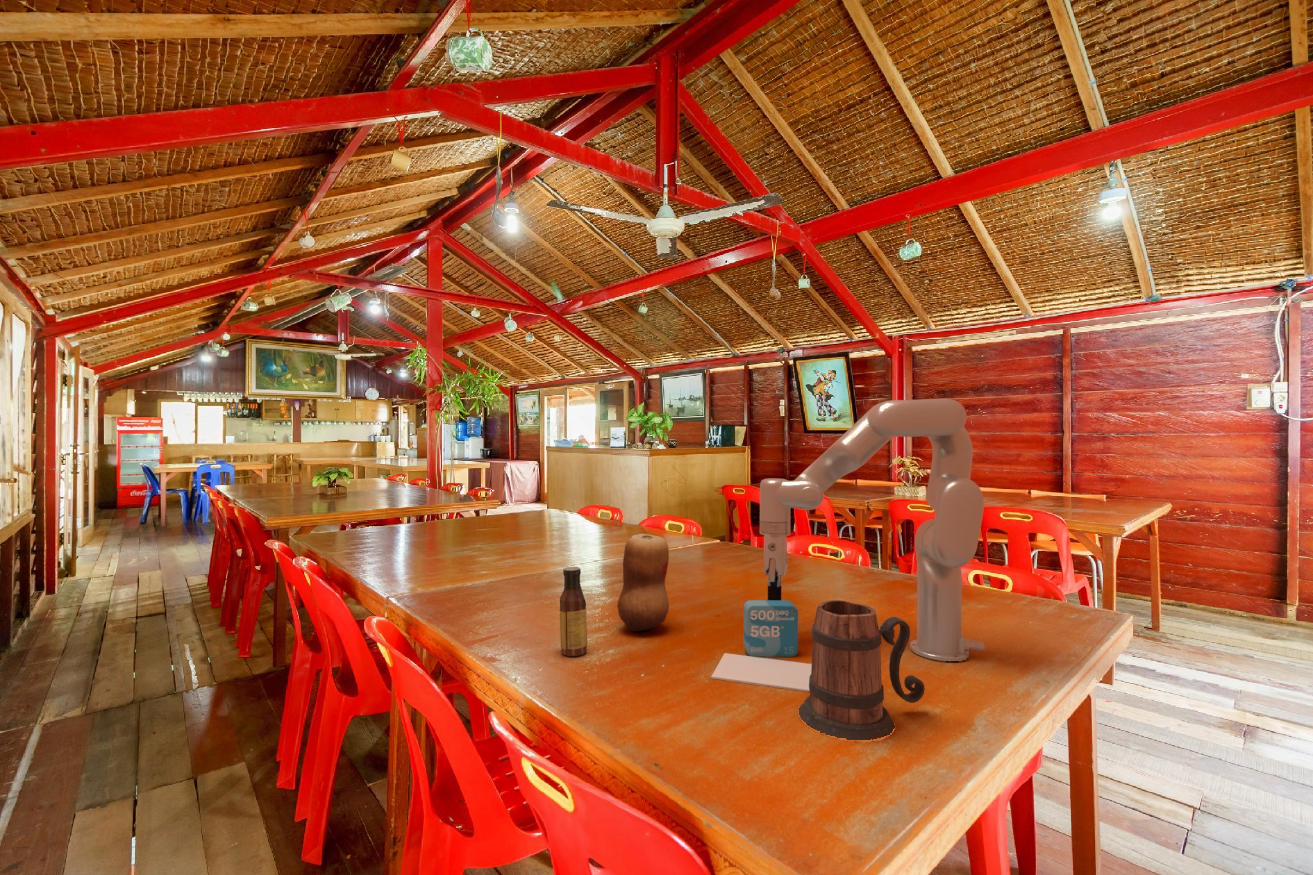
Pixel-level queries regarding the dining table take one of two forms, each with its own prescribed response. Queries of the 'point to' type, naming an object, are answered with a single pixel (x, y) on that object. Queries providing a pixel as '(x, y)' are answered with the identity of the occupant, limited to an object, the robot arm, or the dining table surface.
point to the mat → (764, 672)
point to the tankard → (853, 672)
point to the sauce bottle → (573, 615)
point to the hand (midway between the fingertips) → (774, 601)
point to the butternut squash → (644, 582)
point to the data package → (770, 628)
